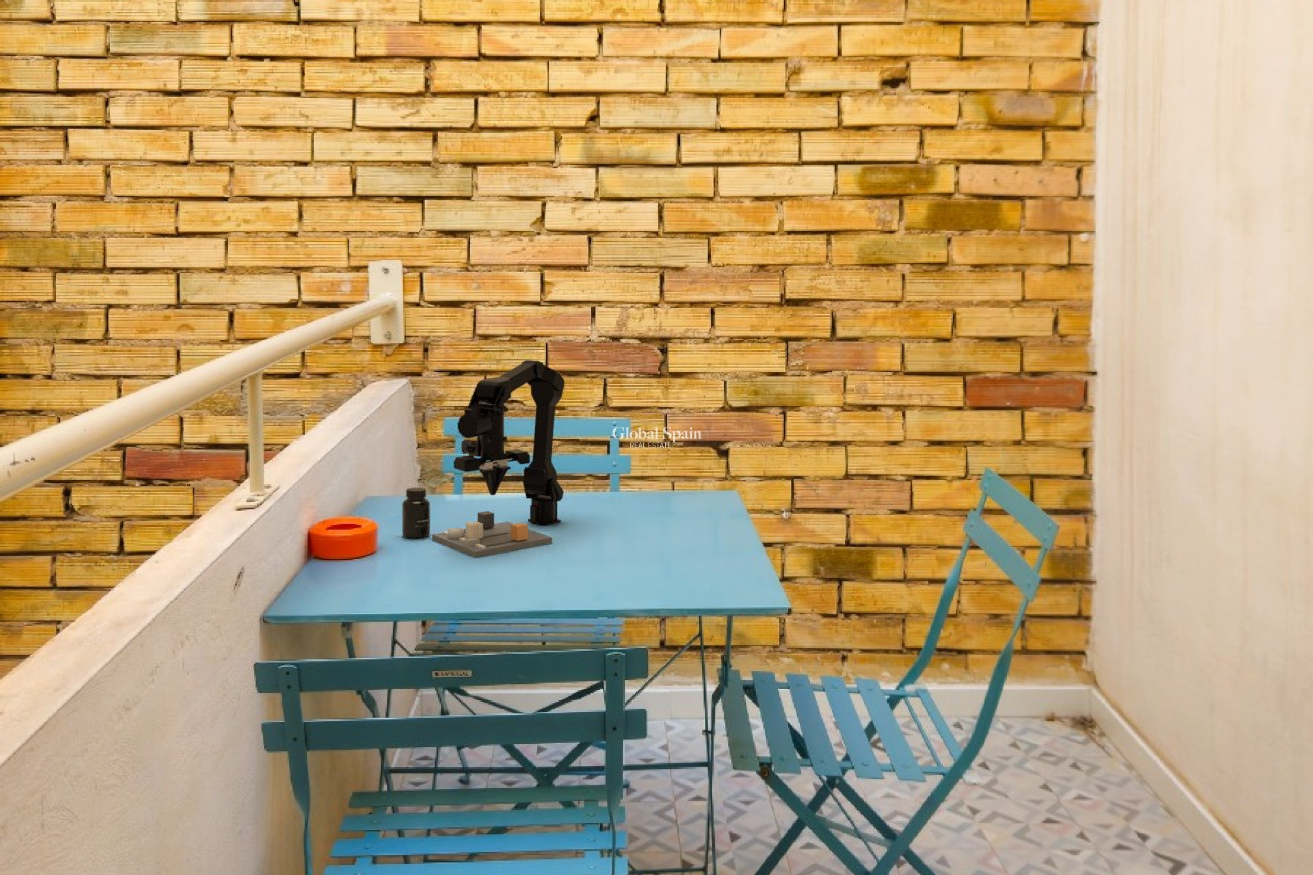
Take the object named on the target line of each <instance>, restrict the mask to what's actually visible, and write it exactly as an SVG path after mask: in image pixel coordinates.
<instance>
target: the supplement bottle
mask: <svg viewBox="0 0 1313 875" xmlns="http://www.w3.org/2000/svg"><path fill="white" fill-rule="evenodd" d="M405 494H406V495H405V497H406V499H404V500H403V502H402V504H401V505H402V506H401V510H402V511H401V514H402V515H401V516H402V517H401V518H402V519H401V520H402V524H401V526H402V528H401V529H402V536H403V538H405V539H411V540H419V539H421V540H422V539H426V538H429V536H430V535H431V504H430V503H431V502H430V501H429V500H428V499H427V498H426V497H427V490H426V488H423V487H409V488H406V490H405Z"/></svg>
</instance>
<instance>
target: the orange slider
mask: <svg viewBox="0 0 1313 875" xmlns="http://www.w3.org/2000/svg"><path fill="white" fill-rule="evenodd" d="M528 529H529V524H526V523H523V522H518V523H513V524H511V539H514V540H517V541H520V540H525V539H528Z"/></svg>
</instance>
